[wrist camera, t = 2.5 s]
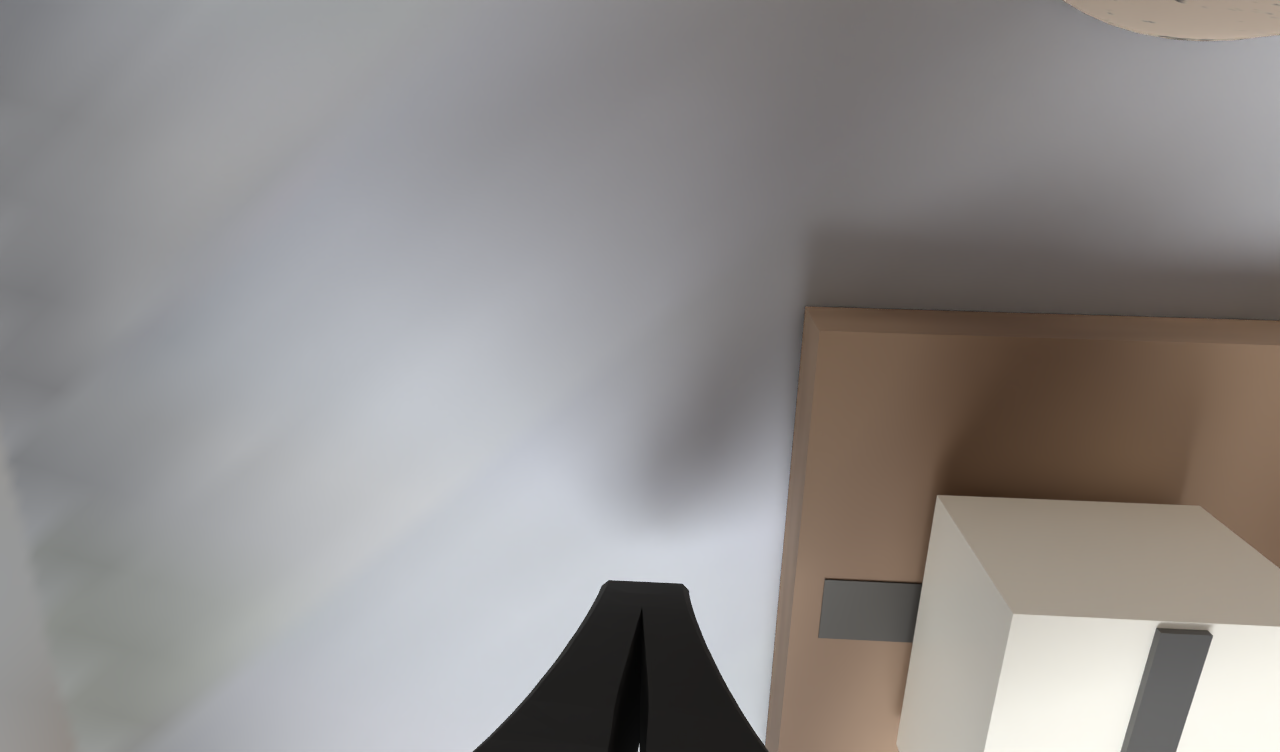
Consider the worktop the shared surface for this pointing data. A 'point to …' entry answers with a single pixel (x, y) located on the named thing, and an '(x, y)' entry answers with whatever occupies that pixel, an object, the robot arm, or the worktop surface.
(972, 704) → the fader tab
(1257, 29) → the teacup with lid
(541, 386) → the worktop surface
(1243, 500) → the console board
